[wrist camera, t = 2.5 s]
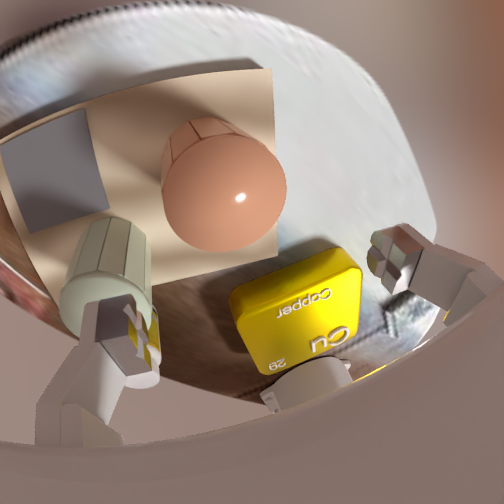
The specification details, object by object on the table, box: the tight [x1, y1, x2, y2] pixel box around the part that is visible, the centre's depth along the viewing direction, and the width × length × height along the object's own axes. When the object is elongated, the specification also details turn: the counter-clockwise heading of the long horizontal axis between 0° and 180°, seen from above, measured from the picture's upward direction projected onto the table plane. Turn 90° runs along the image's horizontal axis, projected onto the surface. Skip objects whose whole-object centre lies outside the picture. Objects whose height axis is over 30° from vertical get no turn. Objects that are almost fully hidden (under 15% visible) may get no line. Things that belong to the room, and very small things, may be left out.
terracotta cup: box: [161, 117, 287, 252], centre depth 17 cm, size 6×6×8 cm
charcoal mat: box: [0, 109, 110, 234], centre depth 16 cm, size 8×8×1 cm
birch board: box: [0, 69, 278, 307], centre depth 20 cm, size 17×23×2 cm
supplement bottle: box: [124, 305, 161, 389], centre depth 25 cm, size 5×5×8 cm
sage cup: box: [59, 217, 152, 338], centre depth 19 cm, size 6×6×8 cm
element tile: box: [228, 247, 363, 375], centre depth 33 cm, size 15×15×5 cm
